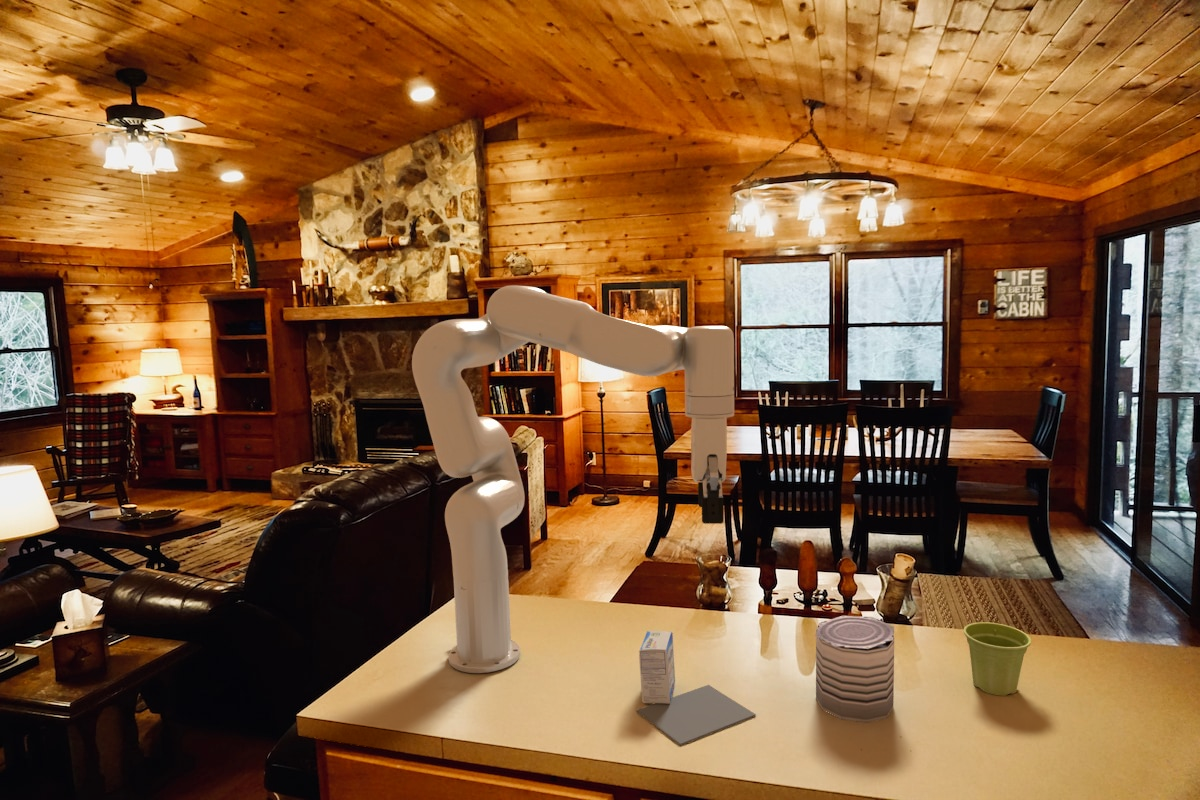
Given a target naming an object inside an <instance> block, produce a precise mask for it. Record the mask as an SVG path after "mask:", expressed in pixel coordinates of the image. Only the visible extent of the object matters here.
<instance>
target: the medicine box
mask: <svg viewBox="0 0 1200 800" xmlns="http://www.w3.org/2000/svg"><path fill="white" fill-rule="evenodd" d="M638 654H639V655H638V658H639V671H640V689H641V701H642V703H644V704H670V701H671V698H672V696H673V693H674V689H675V683H676V674H675V672H676V670H675V668H676V667H675V653H674V636H673V632H672V631H664V630H652V631H651V630H650V631H648V630H647V631H646V633H645V636H644V639H643V641H642V644H641V647H640V649H639V651H638Z"/></svg>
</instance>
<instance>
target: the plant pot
mask: <svg viewBox="0 0 1200 800" xmlns="http://www.w3.org/2000/svg"><path fill="white" fill-rule="evenodd" d="M963 634H964V635H965V637H966V642H967V643H968V648H969V656H970V657H969V658H970V665H971V673H972V683H973V685H974V687H976V688H979V689H981V690H982V691H983V692H985V693H986V694H991V695H995V696H1002V697H1003V696H1008V694H1013V695H1014V694H1015V693H1017V689H1018V685H1019V681H1020V680H1019V679H1020V674H1021V670H1022V665H1023V660H1024V657H1025V654H1026V653H1027V651H1028V648H1029V647H1030V646H1031V644H1032V639H1031V637H1030V635H1029V634H1027V633H1026V632H1025V631H1022V630H1020V629H1018V628H1016V627H1014V626H1010V625H1008V624H1007V625H1006V624H1002V623H997V622H988V621H987V622H986V621H985V622H972V623H969V624H967V625H966V626H964V628H963Z"/></svg>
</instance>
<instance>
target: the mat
mask: <svg viewBox="0 0 1200 800" xmlns="http://www.w3.org/2000/svg"><path fill="white" fill-rule="evenodd" d="M636 713H637V714H639V715H640V716H641V717H642V718H644V719H645V720H646V721H648V722H649V723H650V724H652V725H653V726H654V727H655V728H657V729H658V730H659V731H661V732H662V733H663V734H664V735H666V736H667V737H668V738H670V739H671V740H673V741H674V743H676V744H677V745H678V746H681V747H682V746H684V745H686V744H689V743H692V742H693V741H696V740H699V739H701V738H703V737H707V736H709V735H712V734H713V733H717V732H719V731H722V730H724V729H726V728H729V727H732V726H734V725H736V724H739V723H742V722H744V721H747V720H749V719H752V718H754V716H755V717H756V715H757V714H756V713H754V712H753V711H751V710H750V709H748V708H746V707H745V706H744V705H742V704H740V703H738V702H737V701H735V700H733V699H732V698H731V697H729V696H727V695H726V694H725V693H722V692H721V691H719V690H718V689H717V688H715V687H713V686H711V685H709V684H707V685H704V686H700V687H698V688H695V689H692V690H690V691H689V690H688V691H687V692H684V693H681V694H678V695H675V696H673V697H671V701H670V704H653V703H651V704H649V705H647V706H644V707H640V708H637V709H636Z"/></svg>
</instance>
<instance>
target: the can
mask: <svg viewBox="0 0 1200 800" xmlns="http://www.w3.org/2000/svg"><path fill="white" fill-rule="evenodd" d="M894 634H895V626H893V625H891V624H889V623H888V622H887V623H886V622H884V621H882V620H880V619H879V618H876V617H874V616H855V615H841V616H837V617H834V618H831V619H828V620H824V621H821V622H818V625H817V627H816V630H815V635H814V636H815V699H816V701H817V703H818V702H819V703H818V704H820V705H819V706H821V707H820V709H821V710H822V711H824V712H826V711H827V712H826V713H828V712H829V713H828V714H830V713H831V714H830V715H832V714H833V716H834V715H835V716H834V717H836V716H837V717H836V718H838V717H839V718H838V719H840V720H843V721H844V720H845V721H850V722H857V723H859V722H860V723H865V724H866V723H872V722H876V721H880V720H885V719H887V718H888V717H889V716H890V714H891V712H892V711H893V709H894V697H895V696H894V692H895V689H894V687H895V685H894V684H895V638H894V637H895V636H894Z"/></svg>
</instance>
